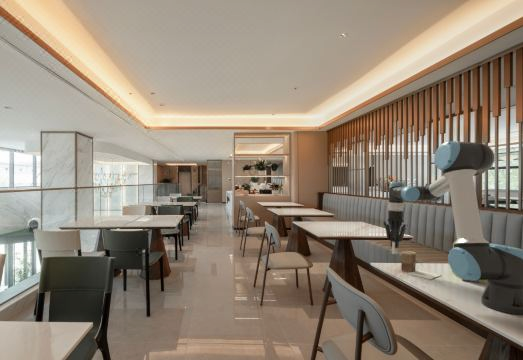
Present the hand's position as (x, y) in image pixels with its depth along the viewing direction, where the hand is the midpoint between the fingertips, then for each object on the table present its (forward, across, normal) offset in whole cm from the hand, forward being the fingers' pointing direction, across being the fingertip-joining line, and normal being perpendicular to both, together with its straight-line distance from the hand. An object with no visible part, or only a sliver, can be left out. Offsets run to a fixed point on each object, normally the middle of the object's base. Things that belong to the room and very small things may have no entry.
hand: (394, 253), depth 178 cm
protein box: (+8, -31, -15) cm, 35 cm away
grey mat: (+8, -17, 0) cm, 18 cm away
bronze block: (+8, -8, 0) cm, 11 cm away
